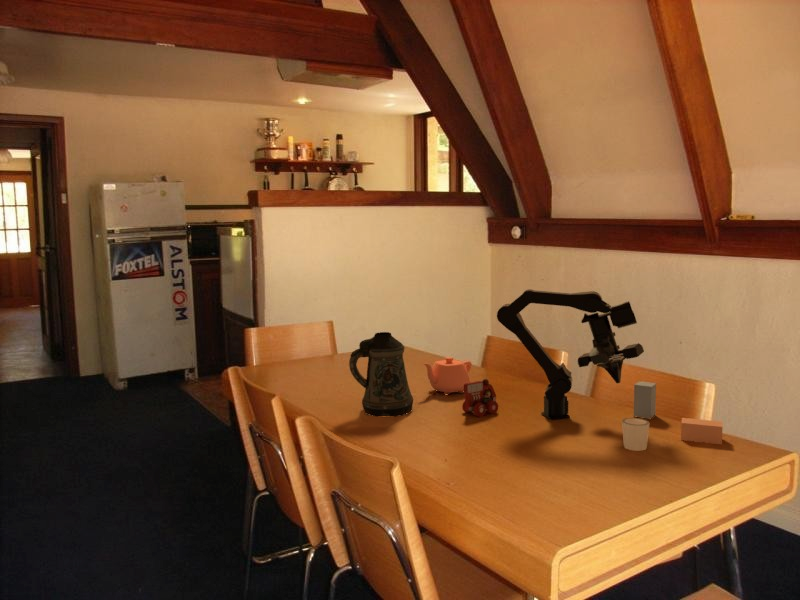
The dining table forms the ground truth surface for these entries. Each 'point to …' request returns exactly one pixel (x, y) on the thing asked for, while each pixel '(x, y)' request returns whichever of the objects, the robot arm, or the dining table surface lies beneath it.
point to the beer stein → (383, 376)
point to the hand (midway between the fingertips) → (618, 382)
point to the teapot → (448, 375)
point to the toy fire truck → (479, 398)
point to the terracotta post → (701, 430)
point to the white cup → (635, 433)
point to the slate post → (644, 399)
